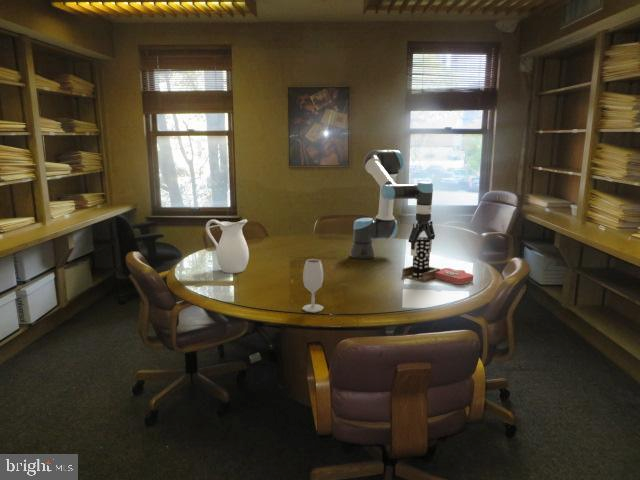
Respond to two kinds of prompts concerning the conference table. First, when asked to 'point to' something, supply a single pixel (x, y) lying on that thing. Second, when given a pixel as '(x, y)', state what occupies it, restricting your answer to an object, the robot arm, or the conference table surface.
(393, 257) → the conference table surface
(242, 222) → the pitcher
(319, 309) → the wineglass
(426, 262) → the spotted tube
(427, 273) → the walnut tray
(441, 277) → the plaque
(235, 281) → the conference table surface
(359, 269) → the conference table surface
